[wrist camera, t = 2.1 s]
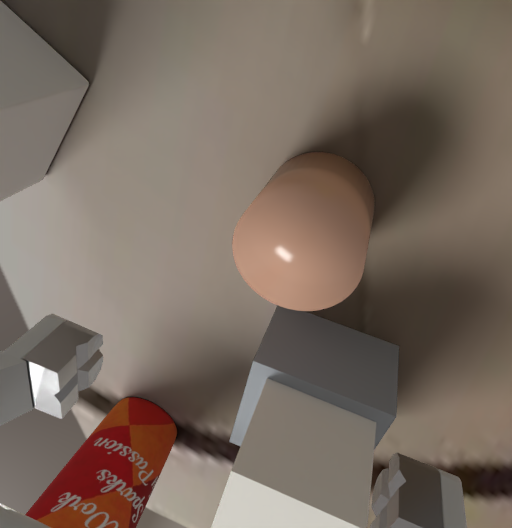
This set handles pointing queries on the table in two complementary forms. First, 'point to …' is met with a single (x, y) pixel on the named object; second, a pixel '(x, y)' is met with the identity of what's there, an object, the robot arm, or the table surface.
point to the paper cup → (110, 470)
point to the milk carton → (32, 103)
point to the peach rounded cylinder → (307, 233)
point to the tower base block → (324, 368)
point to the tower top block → (300, 466)
